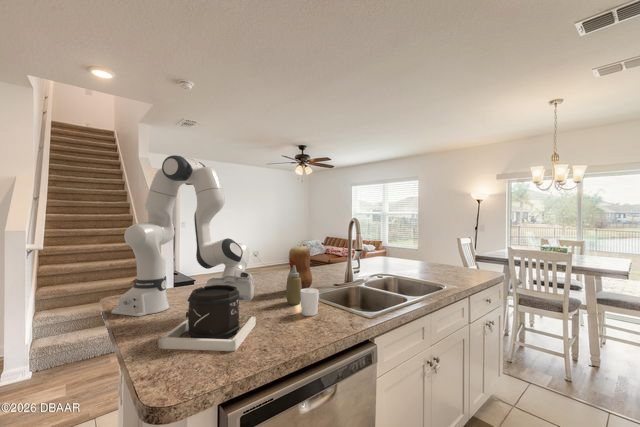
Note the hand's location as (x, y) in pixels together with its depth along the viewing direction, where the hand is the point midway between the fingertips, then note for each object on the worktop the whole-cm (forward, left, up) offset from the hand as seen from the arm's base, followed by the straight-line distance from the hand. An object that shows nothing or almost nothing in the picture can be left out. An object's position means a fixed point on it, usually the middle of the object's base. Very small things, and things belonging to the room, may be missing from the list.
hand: (223, 309), depth 116 cm
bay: (0, -10, -6) cm, 12 cm away
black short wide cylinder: (0, -9, -6) cm, 11 cm away
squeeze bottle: (+23, +29, -6) cm, 37 cm away
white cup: (+32, +15, -6) cm, 36 cm away
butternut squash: (+23, +50, -6) cm, 55 cm away
